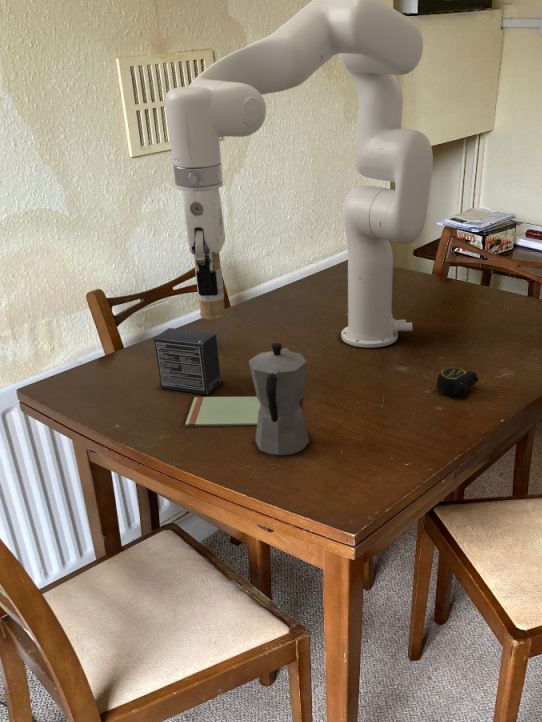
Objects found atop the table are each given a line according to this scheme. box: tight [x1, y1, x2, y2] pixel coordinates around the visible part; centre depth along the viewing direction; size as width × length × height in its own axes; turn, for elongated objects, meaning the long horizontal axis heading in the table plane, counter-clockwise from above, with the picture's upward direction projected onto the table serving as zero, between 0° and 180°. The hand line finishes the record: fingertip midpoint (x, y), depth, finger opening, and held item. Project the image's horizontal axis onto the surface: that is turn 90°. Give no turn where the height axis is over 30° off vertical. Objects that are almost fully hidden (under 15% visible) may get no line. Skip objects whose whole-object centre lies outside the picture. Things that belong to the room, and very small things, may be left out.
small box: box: [153, 327, 222, 396], centre depth 149 cm, size 11×6×10 cm, turn 71°
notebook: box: [184, 395, 260, 427], centre depth 142 cm, size 20×11×1 cm, turn 90°
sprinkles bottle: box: [192, 246, 227, 321], centre depth 131 cm, size 5×5×13 cm
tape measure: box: [436, 366, 479, 397], centre depth 147 cm, size 7×7×4 cm
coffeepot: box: [248, 342, 310, 456], centre depth 126 cm, size 15×9×18 cm, turn 176°
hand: (210, 289), depth 132 cm, fingers closed on sprinkles bottle, 4 cm apart
